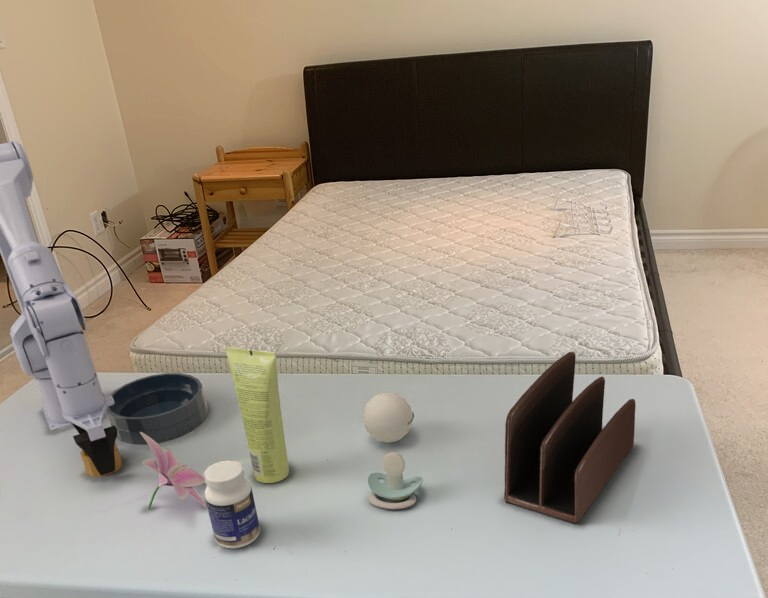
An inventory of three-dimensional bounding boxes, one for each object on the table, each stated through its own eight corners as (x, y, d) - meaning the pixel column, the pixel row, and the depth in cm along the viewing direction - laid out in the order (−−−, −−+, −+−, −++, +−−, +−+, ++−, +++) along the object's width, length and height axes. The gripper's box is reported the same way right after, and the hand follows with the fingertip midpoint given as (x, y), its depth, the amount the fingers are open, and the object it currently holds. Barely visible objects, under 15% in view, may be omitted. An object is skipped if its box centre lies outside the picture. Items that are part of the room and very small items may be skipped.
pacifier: (415, 515, 97) (426, 487, 101) (410, 475, 93) (423, 448, 98) (360, 508, 99) (375, 481, 104) (355, 470, 96) (370, 443, 100)
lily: (181, 544, 97) (204, 478, 95) (97, 509, 97) (118, 443, 95) (214, 513, 109) (234, 453, 106) (138, 481, 109) (158, 421, 107)
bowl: (96, 426, 124) (88, 399, 122) (176, 390, 133) (170, 365, 131) (143, 457, 115) (134, 429, 112) (226, 416, 123) (220, 389, 121)
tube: (289, 460, 110) (267, 337, 100) (297, 478, 106) (275, 351, 96) (251, 470, 109) (224, 346, 99) (258, 489, 105) (231, 361, 95)
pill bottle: (251, 551, 93) (236, 485, 88) (208, 548, 94) (191, 483, 89) (267, 522, 98) (253, 458, 93) (225, 520, 99) (210, 456, 94)
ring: (84, 467, 114) (77, 447, 112) (118, 456, 115) (112, 436, 114) (91, 483, 110) (84, 462, 108) (126, 471, 112) (119, 450, 110)
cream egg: (409, 453, 109) (405, 409, 105) (359, 450, 111) (354, 406, 107) (423, 418, 117) (420, 376, 113) (377, 416, 119) (372, 374, 115)
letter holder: (503, 502, 97) (501, 406, 90) (566, 430, 111) (569, 342, 104) (577, 526, 92) (582, 426, 85) (634, 447, 105) (642, 355, 98)
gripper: (115, 388, 101) (141, 473, 108) (93, 352, 112) (118, 431, 119) (61, 405, 98) (90, 491, 105) (44, 366, 109) (71, 446, 116)
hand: (102, 460), depth 112 cm, fingers open, 7 cm apart
